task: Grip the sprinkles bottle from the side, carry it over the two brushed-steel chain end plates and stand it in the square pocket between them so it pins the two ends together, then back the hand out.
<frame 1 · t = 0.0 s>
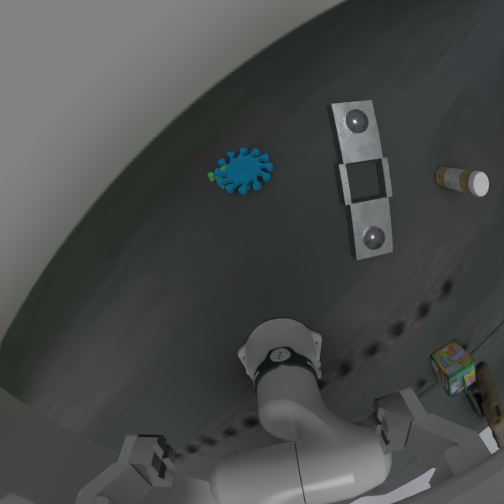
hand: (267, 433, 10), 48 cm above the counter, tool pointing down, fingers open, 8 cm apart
brown frame: (478, 388, 76), on the counter
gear: (240, 169, 54), on the counter
chalk box: (443, 356, 69), on the counter
sprinkles bottle: (442, 176, 54), on the counter
chain ends: (361, 179, 54), on the counter
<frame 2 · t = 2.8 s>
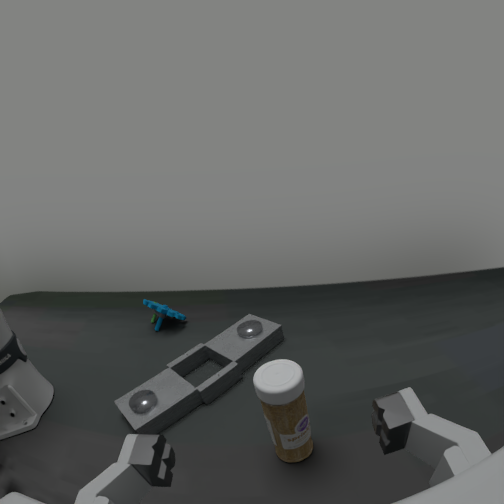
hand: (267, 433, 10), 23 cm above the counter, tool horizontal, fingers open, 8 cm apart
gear: (168, 324, 65), on the counter
sprinkles bottle: (294, 449, 30), on the counter
chain ends: (206, 378, 46), on the counter
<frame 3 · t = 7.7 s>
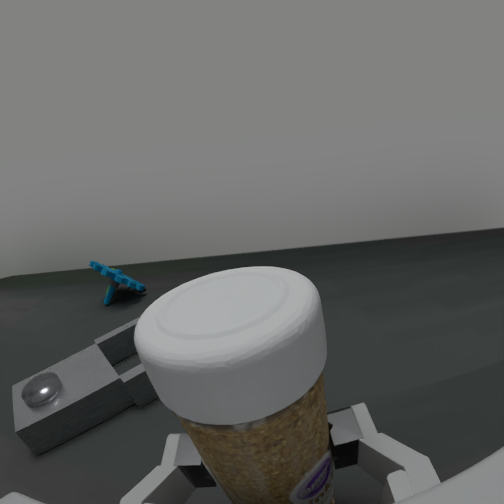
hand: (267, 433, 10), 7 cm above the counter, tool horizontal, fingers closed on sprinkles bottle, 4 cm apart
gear: (124, 297, 47), on the counter
chain ends: (150, 365, 27), on the counter
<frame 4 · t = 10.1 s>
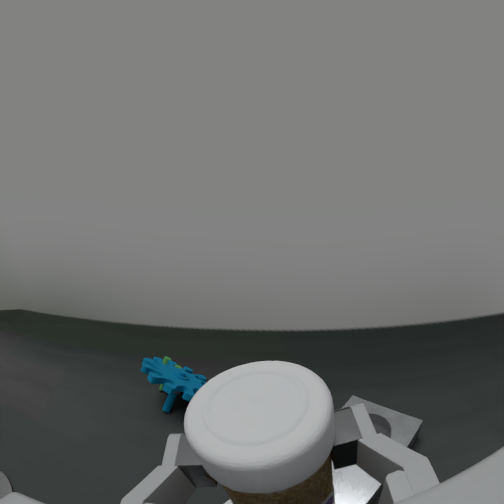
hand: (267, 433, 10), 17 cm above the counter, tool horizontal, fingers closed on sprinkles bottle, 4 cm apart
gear: (188, 398, 36), on the counter
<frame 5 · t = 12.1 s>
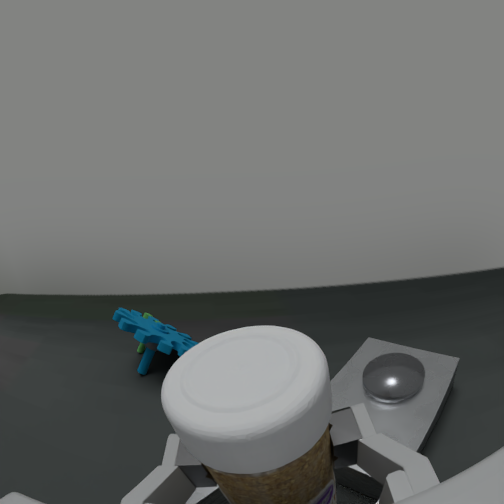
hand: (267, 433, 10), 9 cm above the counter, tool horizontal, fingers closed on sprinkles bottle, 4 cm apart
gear: (169, 360, 31), on the counter
when the fingers open (9 cm above the counter, at t = 12.5 s): sprinkles bottle stays where it is, resting in chain ends.
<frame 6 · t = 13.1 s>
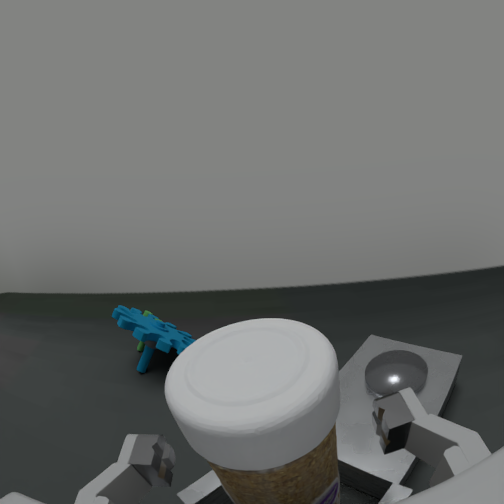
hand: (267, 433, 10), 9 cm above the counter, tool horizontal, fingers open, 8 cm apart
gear: (168, 358, 31), on the counter
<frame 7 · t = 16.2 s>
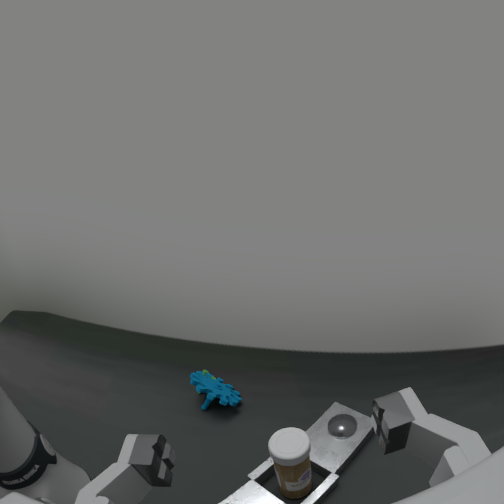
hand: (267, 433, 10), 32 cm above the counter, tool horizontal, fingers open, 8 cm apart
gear: (219, 400, 51), on the counter
sprinkles bottle: (296, 487, 32), resting in chain ends
chain ends: (294, 485, 32), on the counter
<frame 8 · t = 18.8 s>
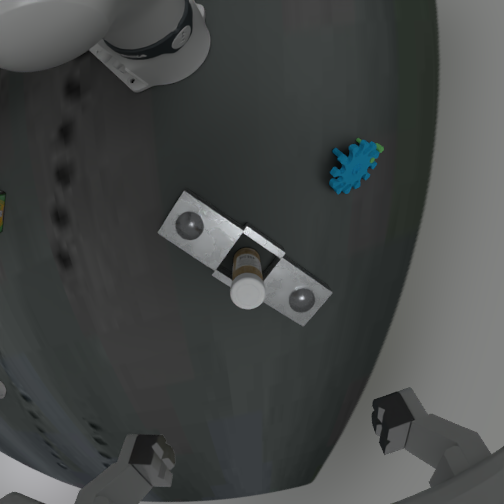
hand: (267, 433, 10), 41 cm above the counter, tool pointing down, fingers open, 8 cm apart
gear: (349, 164, 47), on the counter
sprinkles bottle: (247, 259, 51), resting in chain ends
chain ends: (248, 258, 51), on the counter
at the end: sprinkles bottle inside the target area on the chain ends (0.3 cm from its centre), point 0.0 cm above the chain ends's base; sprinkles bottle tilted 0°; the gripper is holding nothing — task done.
